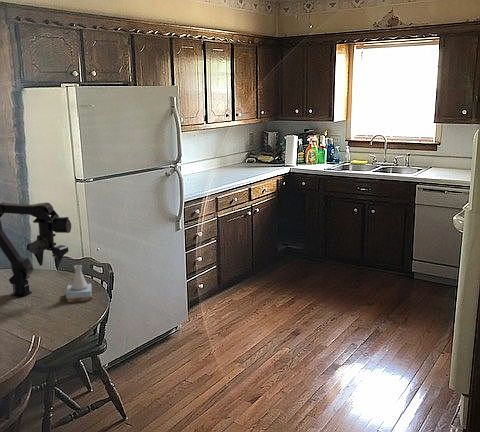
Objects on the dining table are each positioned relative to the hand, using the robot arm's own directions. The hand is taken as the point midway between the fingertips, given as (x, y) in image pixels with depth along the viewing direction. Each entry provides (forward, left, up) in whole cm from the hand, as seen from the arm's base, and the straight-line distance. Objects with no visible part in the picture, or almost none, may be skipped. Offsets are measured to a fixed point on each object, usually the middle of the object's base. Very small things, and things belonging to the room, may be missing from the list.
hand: (48, 266), depth 234 cm
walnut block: (+13, +4, -14) cm, 19 cm away
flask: (+13, +4, -9) cm, 16 cm away
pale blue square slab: (+13, +4, -11) cm, 18 cm away
